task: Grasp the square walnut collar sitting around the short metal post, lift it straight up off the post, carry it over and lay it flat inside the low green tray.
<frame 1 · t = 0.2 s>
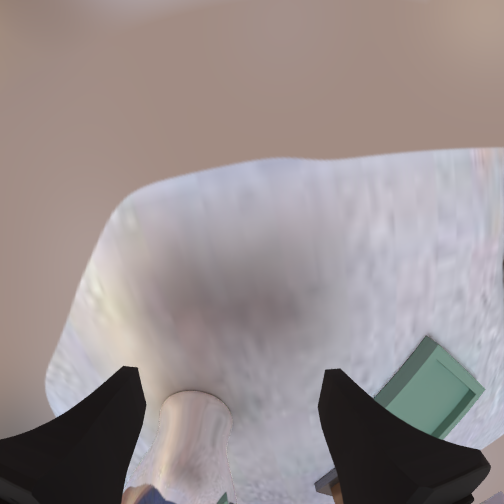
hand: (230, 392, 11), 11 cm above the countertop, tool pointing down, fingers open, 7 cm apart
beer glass: (196, 417, 23), on the countertop
grey peg base: (359, 472, 24), on the countertop
tray: (417, 406, 23), on the countertop
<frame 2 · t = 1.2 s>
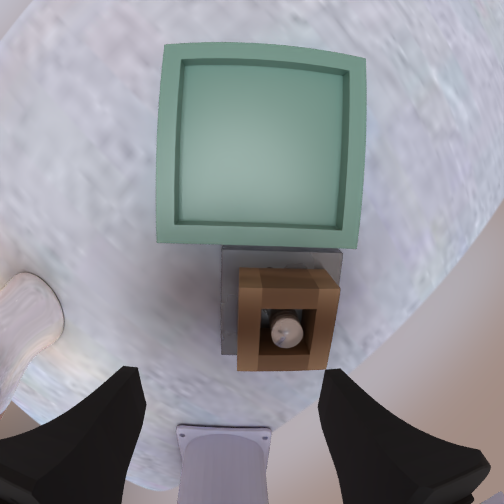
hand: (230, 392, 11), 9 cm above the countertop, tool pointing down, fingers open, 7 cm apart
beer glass: (35, 307, 19), on the countertop
collar: (279, 307, 18), point 1 cm above the countertop, touching grey peg base
grey peg base: (277, 299, 19), on the countertop
tray: (261, 143, 17), on the countertop
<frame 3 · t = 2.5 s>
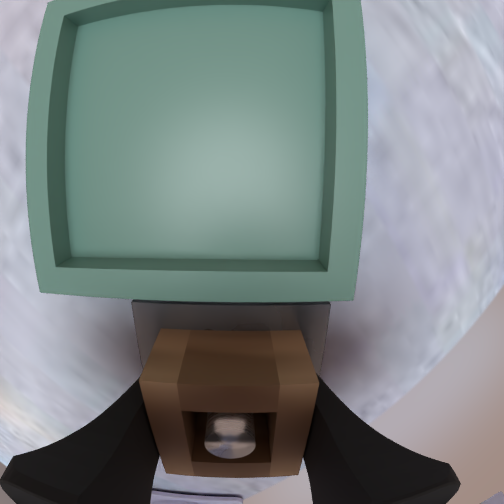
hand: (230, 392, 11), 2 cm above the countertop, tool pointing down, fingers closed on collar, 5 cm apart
collar: (231, 383, 11), point 1 cm above the countertop, touching gripper, grey peg base
grey peg base: (231, 366, 12), on the countertop
tray: (188, 125, 10), on the countertop
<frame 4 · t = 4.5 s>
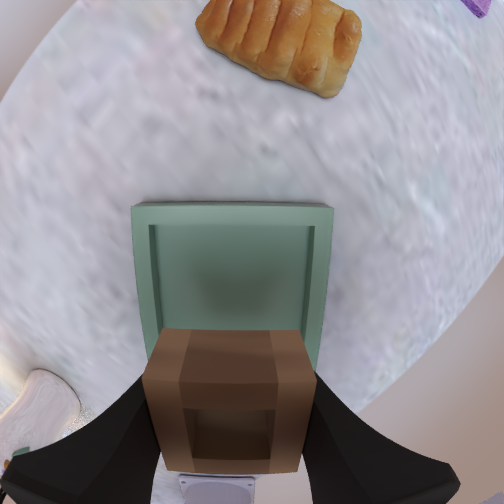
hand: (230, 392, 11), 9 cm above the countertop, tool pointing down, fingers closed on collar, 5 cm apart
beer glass: (54, 393, 22), on the countertop
collar: (231, 382, 11), point 8 cm above the countertop, touching gripper
pastry: (285, 45, 16), on the countertop
tray: (231, 289, 19), on the countertop
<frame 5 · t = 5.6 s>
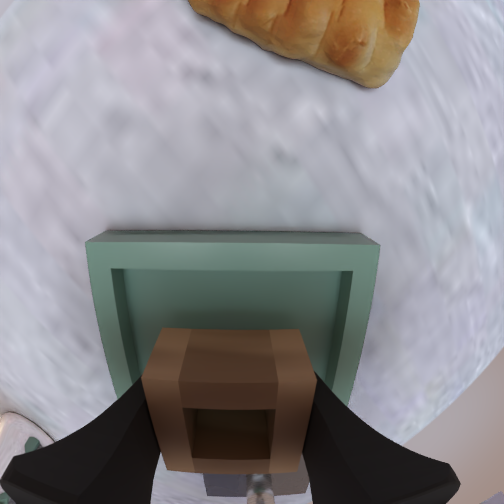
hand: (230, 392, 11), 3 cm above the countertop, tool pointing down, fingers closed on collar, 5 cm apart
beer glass: (32, 436, 16), on the countertop
collar: (231, 382, 11), point 3 cm above the countertop, touching gripper
grey peg base: (257, 460, 17), on the countertop
pastry: (306, 16, 10), on the countertop
tray: (232, 346, 14), on the countertop
when the fingers open (2 cm above the countertop, at t = 6.3 s): collar stays where it is, resting on tray.
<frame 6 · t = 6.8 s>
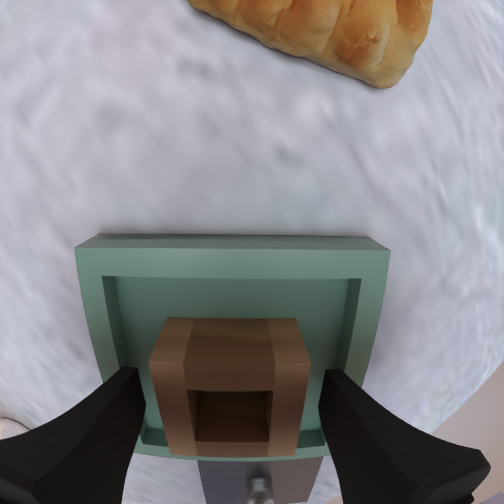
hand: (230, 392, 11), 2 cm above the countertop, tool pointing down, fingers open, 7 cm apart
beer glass: (28, 442, 16), on the countertop
collar: (231, 369, 12), point 1 cm above the countertop, touching tray
grey peg base: (258, 469, 16), on the countertop
pastry: (311, 11, 10), on the countertop
tray: (231, 356, 13), on the countertop
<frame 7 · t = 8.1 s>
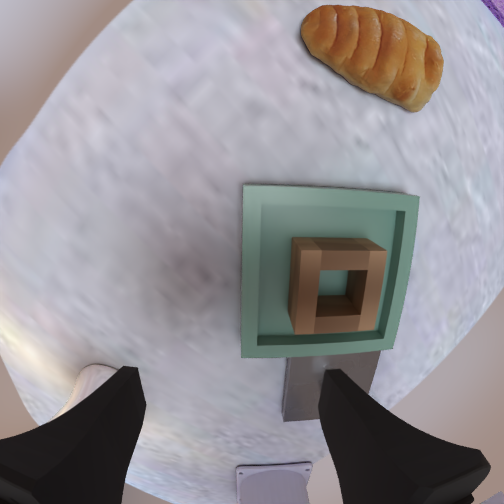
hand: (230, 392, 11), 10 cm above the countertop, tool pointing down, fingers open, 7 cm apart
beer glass: (110, 389, 23), on the countertop
collar: (327, 275, 19), point 1 cm above the countertop, touching tray
grey peg base: (327, 379, 23), on the countertop
pastry: (372, 60, 17), on the countertop
tray: (324, 270, 20), on the countertop
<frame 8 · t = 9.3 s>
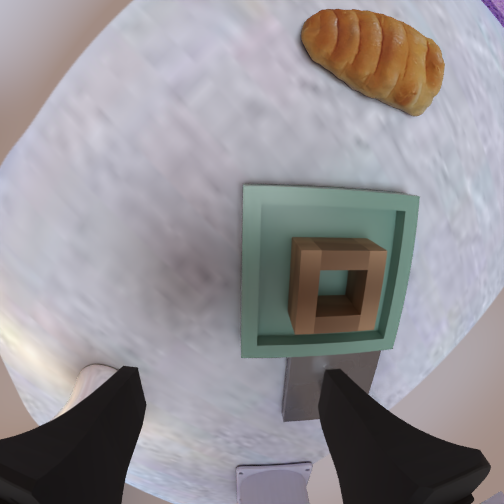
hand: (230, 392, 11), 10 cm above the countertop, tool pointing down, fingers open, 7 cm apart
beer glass: (110, 389, 23), on the countertop
collar: (327, 275, 19), point 1 cm above the countertop, touching tray
grey peg base: (327, 379, 23), on the countertop
pastry: (372, 64, 17), on the countertop
tray: (324, 270, 20), on the countertop
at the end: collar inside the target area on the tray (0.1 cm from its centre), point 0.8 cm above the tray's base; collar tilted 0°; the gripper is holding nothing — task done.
